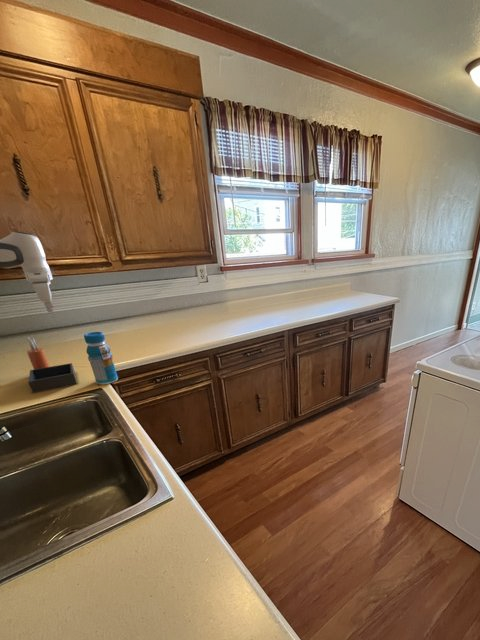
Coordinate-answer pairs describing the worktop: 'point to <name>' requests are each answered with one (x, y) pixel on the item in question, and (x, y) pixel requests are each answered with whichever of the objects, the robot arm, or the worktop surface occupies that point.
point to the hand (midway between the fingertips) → (50, 309)
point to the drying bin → (52, 377)
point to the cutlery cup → (37, 355)
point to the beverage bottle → (100, 358)
